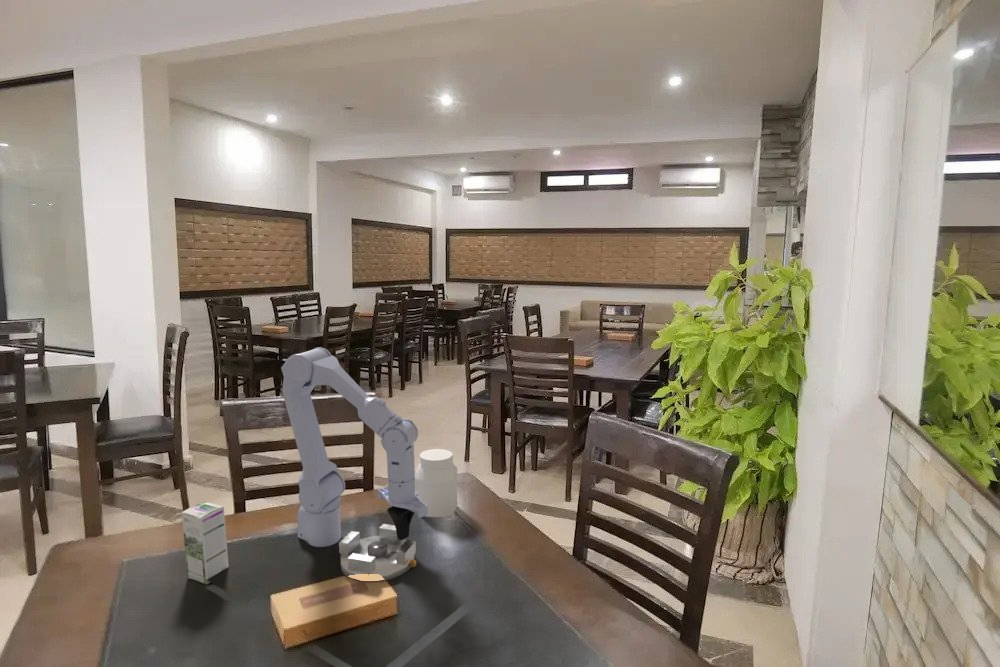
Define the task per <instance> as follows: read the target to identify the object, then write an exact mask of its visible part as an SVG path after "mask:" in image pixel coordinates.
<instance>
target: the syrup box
mask: <svg viewBox="0 0 1000 667" xmlns="http://www.w3.org/2000/svg"><path fill="white" fill-rule="evenodd" d="M225 516H226V515H225V507H224V506H222V505H219V504H215V503H212V502H211V503H210V502H208V501H203V502H200V503H197V504H195V505H192V506H190V507H188V508H187V509H185V510H184V511H181V522H182V532H183V540H184V541H183V544H184V553H185V565H186V566H185V567H186V576H187V577H186V578H187V579H189V580H192V581H195V582H197V583H200V584H204V585H209V584H210V583H212V581H210V579H211V578H213V577H214V576H215V575H217V574H219V573H220V572H222V571H225V570H226V569H228V568H230V566H229V565H230V564H229V555H228V554H229V553H228V542H227V529H226V517H225Z"/></svg>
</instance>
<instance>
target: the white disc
mask: <svg viewBox="0 0 1000 667" xmlns="http://www.w3.org/2000/svg"><path fill="white" fill-rule="evenodd" d="M378 532H379V533H378V535H372V536H367V537H364V538H361V532H360V531H352V530H351V531H350V532H349V533H348V534H346V536H344V537H343V538H341V539H340V540H339V541H338V547H339V548H338V550H339V551H338V552H339V554H340V570H341V572H342V573H343V575H344V576H346V577H347V576H349V575H355V574H368V575H369V574H379V575H381V576H382V577H383V578H384V579H385V580H386V581H389V580H392V579H396V578H398V577H400V576H402V575H403V574H405V573H407V572H408V571H409V570H410V569H412V568H415V567H416V566H417V559H415V555H416V551H417V549H416V548H417V546H416V544H417V542H416V540H411V539H406V538H405V539H403V540H400V539H398V537H397V533H396V527H395V524H393V525H392V524H387V523H383V524H382V525H381V526H379V527H378Z"/></svg>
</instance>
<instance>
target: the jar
mask: <svg viewBox="0 0 1000 667" xmlns="http://www.w3.org/2000/svg"><path fill="white" fill-rule="evenodd" d="M453 456H454V455H453V452H452V451H450V450H448V449H442V448H431V449H427V450H424V451H422V452H420V454H419V464H418V465H417V467H416V470H415V491H416V492H418V496H417V497H418V498H419V499H420V500H421V501H422V502H423V503H424V504H425V505H427V506H428V515H425V516H424V517H426V518H443V517H444V518H447V519H450V518H451V517H453V516H454V517H455V510H456V509H457V508H458V506H457V505H458V467H457V465H455V463H454V459H453V458H454V457H453ZM456 507H457V508H456ZM455 508H456V509H455ZM454 517H453V518H454ZM451 519H452V518H451Z"/></svg>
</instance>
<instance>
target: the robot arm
mask: <svg viewBox="0 0 1000 667" xmlns="http://www.w3.org/2000/svg"><path fill="white" fill-rule="evenodd" d="M280 368H281V372H282V375H283V381H282V382H283V383H282V387H281V389H282V390H281V392H282V397H283V399H284V403H285V407H286V411H287V413H288V414H287V415H288V417H289V421H290V424H291V425H290V426H291V429H292V432H293V436H294V439H295V443H296V447H297V451H298V454H299V458H300V462H301V466H302V471H301V474H300V475H299V476H300V477H299V478H298V482H297V483H298V486H299V487H298V488H299V491H298V492H299V493H298V501H299V504H300V507H299V508H298V511H297V517H296V518H297V519H296V520H297V521H296V522H297V537H298V539H301V540H303V541H305V542H306V543H307V544H308V545H310V546H312V547H314V548H315V547H316V548H323V547H325V548H326V547H330V546H333V545H335V544H336V543H339V542H340V541H341V540H342V535H341V534H342V530H341V525H342V524H341V505H340V503H341V502H340V501H341V495H343V493H344V491H345V489H346V482H345V478H344V477H343V475H342V474H341V473H340V472H339V470H338V466H337V464H336V463H334V462H332V461H330V460H329V458H328V455H327V450H326V447H325V443H324V438H323V436H322V432H321V428H320V425H319V422H318V417H317V414H316V413H317V412H316V410H315V406H314V403H313V399H312V396H311V392H312V391H313V390H314V388H315V387H316V386H317V385H318V386H329V387H330V388H332V389H333V390H334V391H335V392H337V393H338V394H339V395H341V397H343V398H344V399H346V400H347V401H348V402H349V403H350V404H352V405H353V406H354V407H355V408H356V410H357V415H358V416H357V417H358V418H359V419H360V420H361V421H362V422H363V423H364V424H366V425H367V427H369V429H370V430H372V431H373V432H374V433H375V434H376V435H378V437H379V438H380V439H381V440H380V443H381V446H382V448H383V449H384V451H385V453H386V462H387V463H386V464H387V466H386V468H387V471H386V472H387V487H385V486H384V487H381V488H378V489H377V499H380V500H382V499H384V500H385V502H386V503H387V505H389V506H391V507H388V508H387V513H388V515H389V516H390V518H391V520H392V522H393V523H394V524H393V525H395V527H396V533H397V537H398V539H400V540H403V539H405V540H406V539H408V537H409V535H410V525H411V522H412V519H413V517H414V516H415V515H414V514H417V517H418V518H421V519H422V518H423V517H426V516H425V515H428V506H427V505H425V504H424V503H423V502H422V501H421V500H420V499H419V498H418V497H417V496H418V492H416V491H415V473H416V470H415V466H416V465H415V444H414V443H415V442H416V441H417V439H418V437H419V431H418V428H417V425H416V424H415V423H414V422H413V421H412V420H411V419H409V418H403V417H402V416H401V415H398V414H397V413H396V412H395V411H394V410H393V409H391V408H390V407H389V406H388V405H387V400H385V399H384V398H381V399H380V398H379V397H378V396H369V395H368V394H367V392H365V391H364V390H363V389H362V387H361V386H360V385H359V384H357V382H356V381H355V380H354V379H353V378H352V377H351V376H350V375H349V374H348V372H346V370H344V369H343V368H342V366H341V364H340V362H339V360H338V358H337V357H336V356H334V355H332V353H331V352H330V351H329V350H328V349H326V348H323V347H321V346H320V347H315V348H313V349H311V350H308V351H304V352H300V353H294V354H292V355H290V356H288V357H287V359H286V360H285V362H284V364H282V366H281V367H280Z"/></svg>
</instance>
